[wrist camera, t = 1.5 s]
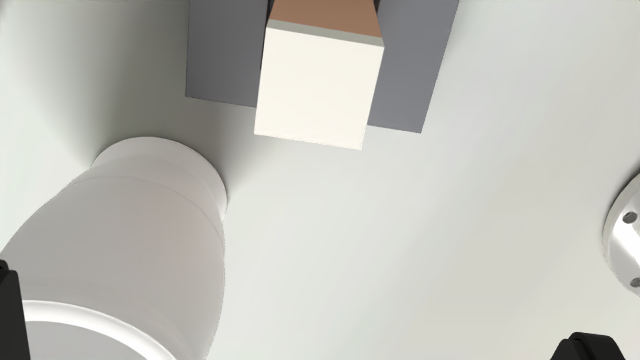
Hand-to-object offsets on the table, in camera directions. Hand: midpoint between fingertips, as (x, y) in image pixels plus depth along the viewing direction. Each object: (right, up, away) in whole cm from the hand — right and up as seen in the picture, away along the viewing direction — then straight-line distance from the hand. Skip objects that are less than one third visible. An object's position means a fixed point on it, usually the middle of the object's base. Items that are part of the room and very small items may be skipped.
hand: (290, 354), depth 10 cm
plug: (0, +11, +19) cm, 22 cm away
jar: (-10, +2, +26) cm, 28 cm away
